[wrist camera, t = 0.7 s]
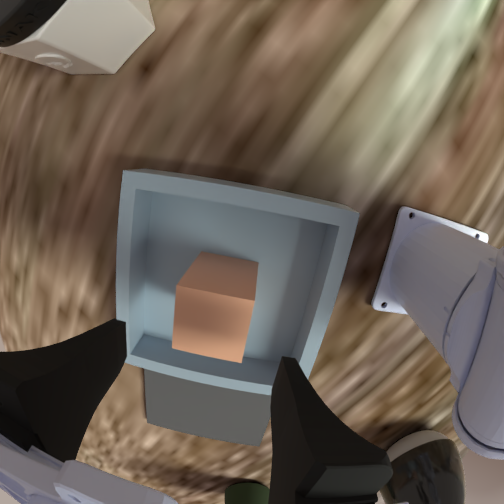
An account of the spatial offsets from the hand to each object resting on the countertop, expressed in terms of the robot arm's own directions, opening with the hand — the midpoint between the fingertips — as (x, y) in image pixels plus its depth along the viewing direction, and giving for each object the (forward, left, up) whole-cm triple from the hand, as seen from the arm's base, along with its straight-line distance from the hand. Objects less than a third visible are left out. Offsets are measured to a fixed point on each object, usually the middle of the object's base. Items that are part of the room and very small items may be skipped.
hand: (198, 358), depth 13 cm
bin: (0, 0, -9) cm, 9 cm away
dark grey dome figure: (-25, +18, -10) cm, 32 cm away
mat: (0, +13, -9) cm, 16 cm away
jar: (+13, -18, -10) cm, 24 cm away
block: (0, 0, -9) cm, 9 cm away
